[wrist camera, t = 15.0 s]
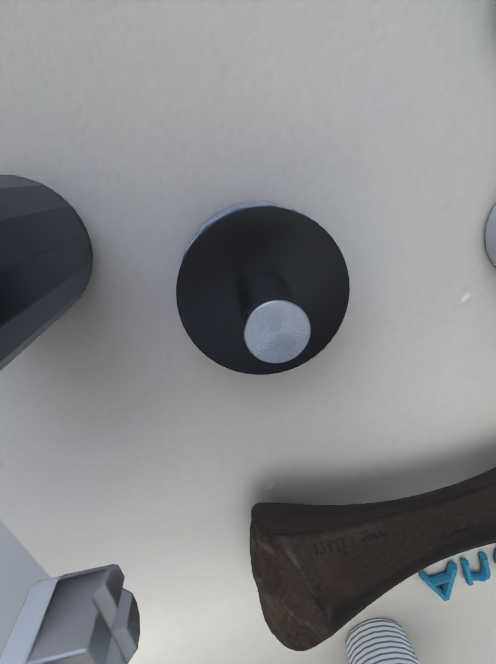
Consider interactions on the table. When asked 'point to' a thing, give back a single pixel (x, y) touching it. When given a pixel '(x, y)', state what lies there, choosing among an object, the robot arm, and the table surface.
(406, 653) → the cup
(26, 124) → the table surface
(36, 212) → the pot
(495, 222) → the cup
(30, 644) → the robot arm
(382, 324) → the table surface
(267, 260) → the lid
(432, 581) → the nameplate
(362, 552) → the dark brown bone
